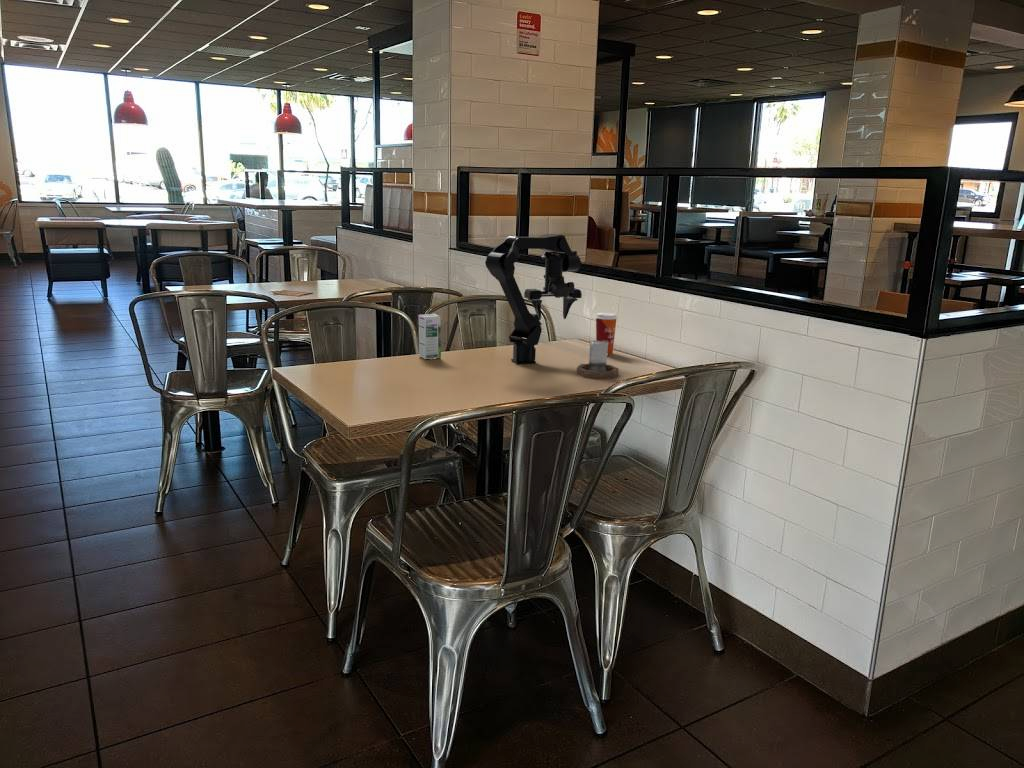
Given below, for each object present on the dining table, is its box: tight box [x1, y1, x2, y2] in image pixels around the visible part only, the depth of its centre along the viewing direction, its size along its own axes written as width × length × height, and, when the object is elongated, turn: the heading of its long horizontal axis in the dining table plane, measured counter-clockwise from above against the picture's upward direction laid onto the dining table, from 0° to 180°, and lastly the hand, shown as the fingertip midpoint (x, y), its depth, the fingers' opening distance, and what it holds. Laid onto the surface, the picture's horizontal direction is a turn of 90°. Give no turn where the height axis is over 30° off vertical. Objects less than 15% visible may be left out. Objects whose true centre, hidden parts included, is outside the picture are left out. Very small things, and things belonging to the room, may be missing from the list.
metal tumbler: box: [588, 340, 608, 372], centre depth 236 cm, size 6×6×10 cm
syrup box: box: [418, 313, 442, 360], centre depth 253 cm, size 6×6×14 cm
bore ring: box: [576, 363, 619, 380], centre depth 237 cm, size 12×12×2 cm
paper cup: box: [594, 312, 618, 355], centre depth 267 cm, size 8×8×14 cm
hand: (552, 319), depth 257 cm, fingers open, 9 cm apart
